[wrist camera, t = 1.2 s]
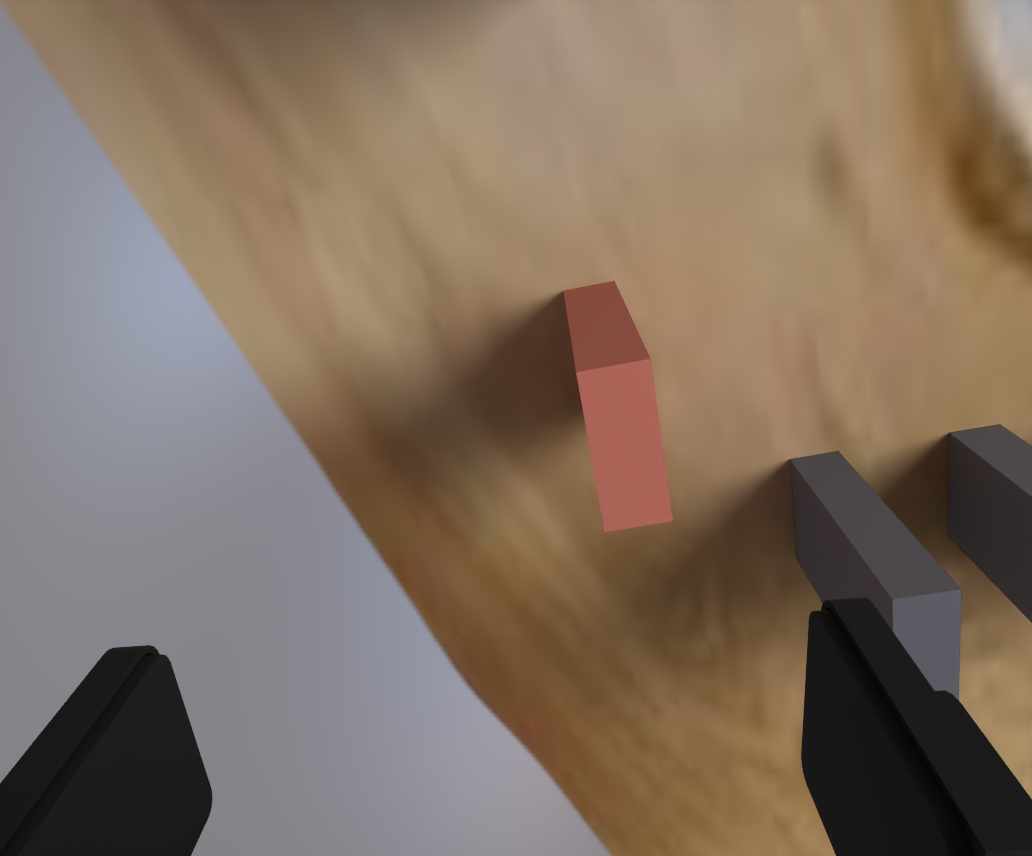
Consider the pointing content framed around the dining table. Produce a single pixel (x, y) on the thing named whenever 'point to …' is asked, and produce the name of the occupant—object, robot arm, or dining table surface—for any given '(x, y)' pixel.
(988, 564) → the domino
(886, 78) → the dining table surface
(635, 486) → the red domino
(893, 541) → the domino
